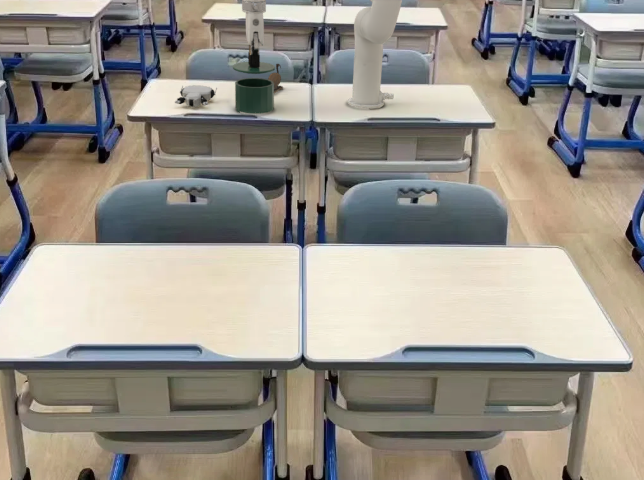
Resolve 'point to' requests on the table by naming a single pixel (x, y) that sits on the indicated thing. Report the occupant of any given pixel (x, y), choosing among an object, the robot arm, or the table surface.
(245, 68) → the lid
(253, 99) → the tin
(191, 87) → the robot toy
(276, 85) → the figurine
